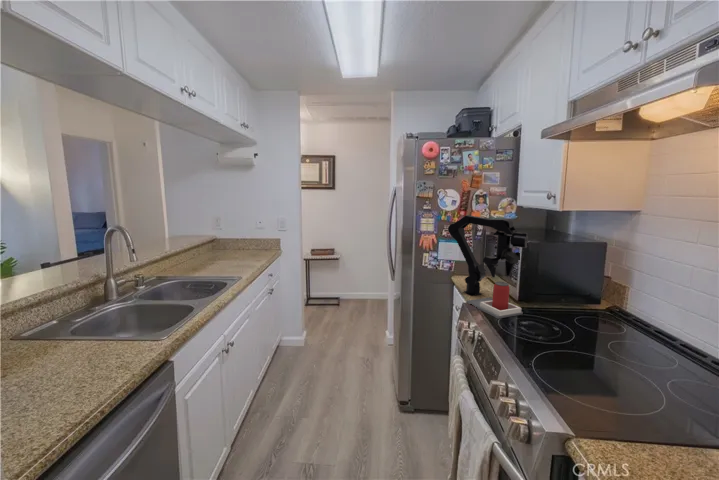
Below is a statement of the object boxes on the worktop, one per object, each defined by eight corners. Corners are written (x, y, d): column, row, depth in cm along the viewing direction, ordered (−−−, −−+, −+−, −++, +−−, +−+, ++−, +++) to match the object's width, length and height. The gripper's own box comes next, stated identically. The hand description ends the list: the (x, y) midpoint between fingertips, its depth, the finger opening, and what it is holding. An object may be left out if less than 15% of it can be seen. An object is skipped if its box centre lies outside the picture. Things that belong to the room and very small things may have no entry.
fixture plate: (466, 302, 153) (466, 296, 153) (489, 299, 158) (489, 293, 158) (497, 318, 135) (498, 311, 134) (522, 314, 140) (523, 307, 139)
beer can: (503, 313, 138) (505, 286, 136) (489, 308, 143) (491, 283, 141) (510, 309, 142) (512, 283, 140) (496, 305, 147) (498, 280, 145)
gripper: (501, 249, 142) (498, 282, 145) (532, 246, 149) (528, 279, 151) (483, 245, 153) (481, 276, 155) (513, 242, 159) (510, 273, 162)
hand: (500, 276), depth 156 cm, fingers open, 9 cm apart
